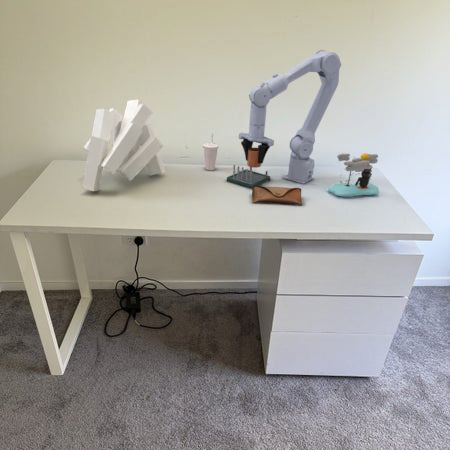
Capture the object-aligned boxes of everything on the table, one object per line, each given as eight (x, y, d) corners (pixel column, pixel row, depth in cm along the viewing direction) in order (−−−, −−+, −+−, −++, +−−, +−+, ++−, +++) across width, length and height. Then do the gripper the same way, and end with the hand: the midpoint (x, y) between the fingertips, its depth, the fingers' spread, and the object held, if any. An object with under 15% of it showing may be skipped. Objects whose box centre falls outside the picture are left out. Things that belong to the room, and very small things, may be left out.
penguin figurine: (370, 186, 152) (381, 147, 142) (384, 197, 143) (396, 155, 134) (323, 188, 148) (330, 148, 139) (334, 199, 140) (343, 157, 131)
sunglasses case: (252, 202, 134) (253, 182, 133) (251, 205, 141) (252, 186, 140) (304, 204, 134) (305, 185, 133) (300, 207, 141) (301, 188, 140)
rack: (270, 180, 154) (271, 164, 150) (251, 189, 145) (253, 172, 142) (245, 173, 159) (246, 157, 156) (226, 181, 151) (227, 165, 147)
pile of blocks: (139, 216, 135) (178, 117, 124) (56, 178, 130) (89, 71, 119) (154, 204, 167) (186, 125, 156) (88, 173, 162) (117, 89, 151)
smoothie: (217, 171, 160) (218, 136, 151) (202, 171, 159) (202, 135, 151) (218, 166, 165) (219, 132, 156) (203, 166, 165) (203, 131, 156)
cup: (263, 165, 150) (264, 149, 146) (255, 168, 146) (257, 152, 143) (252, 162, 152) (253, 146, 149) (244, 165, 149) (245, 149, 145)
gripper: (234, 122, 141) (233, 159, 149) (268, 129, 134) (264, 168, 143) (245, 119, 146) (243, 155, 154) (278, 126, 139) (274, 164, 147)
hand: (254, 161), depth 149 cm, fingers closed on cup, 5 cm apart
